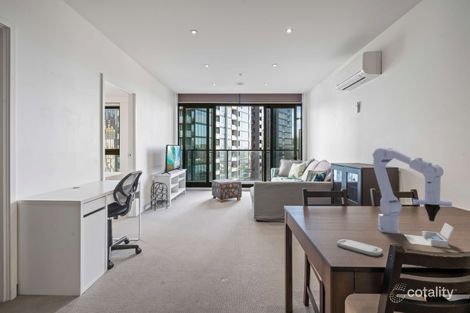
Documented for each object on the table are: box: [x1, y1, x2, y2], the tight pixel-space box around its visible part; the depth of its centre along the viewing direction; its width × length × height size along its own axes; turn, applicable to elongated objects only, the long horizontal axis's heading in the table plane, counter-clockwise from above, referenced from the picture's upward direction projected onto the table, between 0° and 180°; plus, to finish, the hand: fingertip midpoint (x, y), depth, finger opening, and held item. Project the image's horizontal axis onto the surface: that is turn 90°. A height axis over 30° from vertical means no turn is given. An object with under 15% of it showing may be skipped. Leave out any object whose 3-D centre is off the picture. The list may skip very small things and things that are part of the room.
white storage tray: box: [403, 230, 451, 249], centre depth 127 cm, size 15×14×3 cm
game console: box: [336, 238, 383, 257], centre depth 117 cm, size 18×2×8 cm
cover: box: [439, 222, 455, 241], centre depth 123 cm, size 6×9×1 cm
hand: (431, 220), depth 125 cm, fingers closed
